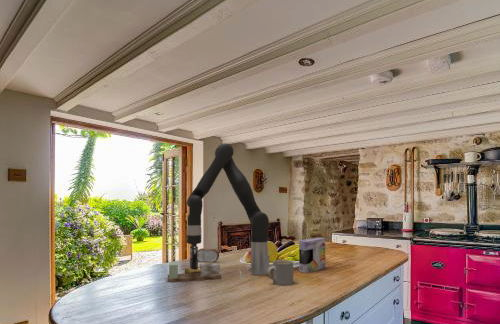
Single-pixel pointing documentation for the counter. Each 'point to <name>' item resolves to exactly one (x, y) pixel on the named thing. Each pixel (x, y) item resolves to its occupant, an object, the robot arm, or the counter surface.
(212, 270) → the stand
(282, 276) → the coffee mug
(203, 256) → the tin
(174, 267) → the socket block
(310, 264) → the cake pan box
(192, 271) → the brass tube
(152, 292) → the counter surface
